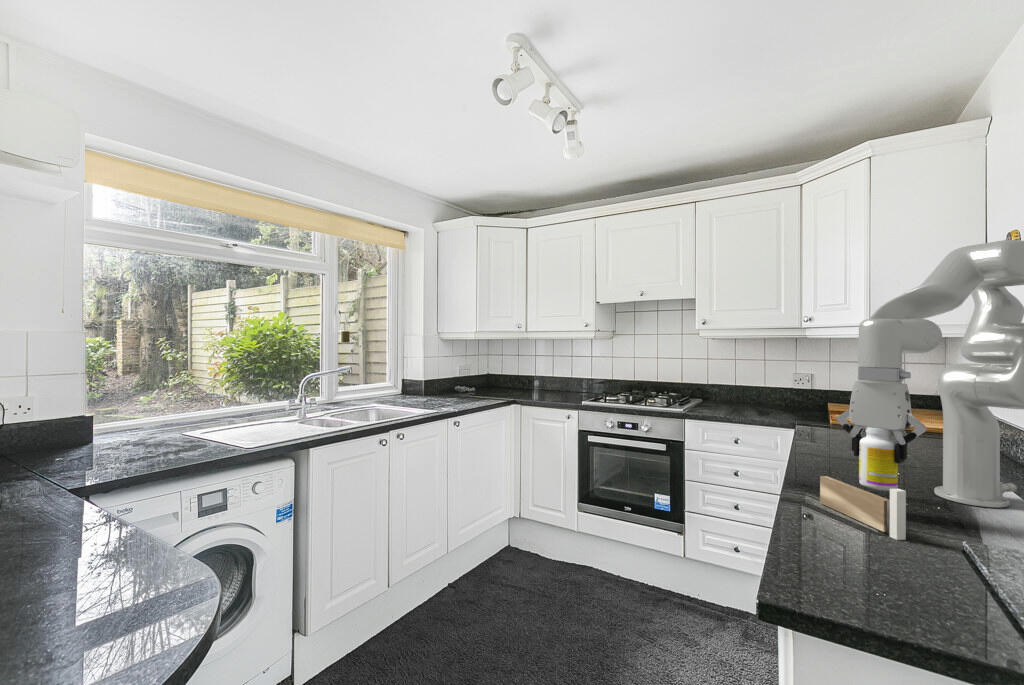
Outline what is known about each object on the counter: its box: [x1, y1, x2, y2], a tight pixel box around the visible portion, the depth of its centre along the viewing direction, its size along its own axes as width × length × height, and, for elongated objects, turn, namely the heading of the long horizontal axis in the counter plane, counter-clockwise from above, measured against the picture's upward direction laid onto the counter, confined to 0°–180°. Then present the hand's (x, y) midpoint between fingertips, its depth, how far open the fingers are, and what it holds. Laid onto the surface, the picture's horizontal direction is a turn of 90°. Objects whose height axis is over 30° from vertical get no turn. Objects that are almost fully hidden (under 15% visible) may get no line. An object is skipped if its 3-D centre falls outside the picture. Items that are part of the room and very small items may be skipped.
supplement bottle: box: [858, 427, 899, 492], centre depth 102 cm, size 7×7×13 cm
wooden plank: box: [819, 475, 890, 535], centre depth 98 cm, size 2×18×6 cm, turn 5°
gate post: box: [889, 488, 907, 541], centre depth 88 cm, size 2×2×9 cm
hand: (878, 458), depth 102 cm, fingers closed on supplement bottle, 6 cm apart
